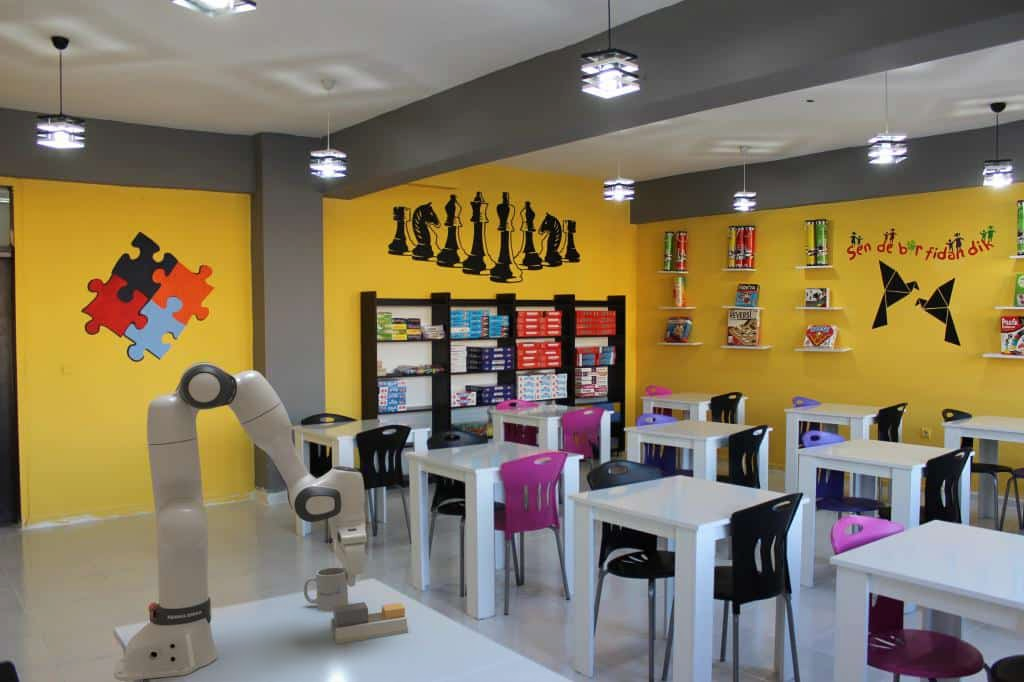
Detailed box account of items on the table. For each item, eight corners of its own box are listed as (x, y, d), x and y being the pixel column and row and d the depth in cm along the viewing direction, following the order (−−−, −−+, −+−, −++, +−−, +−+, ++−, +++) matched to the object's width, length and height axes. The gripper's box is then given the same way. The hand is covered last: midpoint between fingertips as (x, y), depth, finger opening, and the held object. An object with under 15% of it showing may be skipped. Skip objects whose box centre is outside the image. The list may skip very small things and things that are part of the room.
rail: (336, 643, 202) (336, 621, 202) (330, 630, 211) (330, 609, 211) (407, 632, 208) (407, 611, 208) (398, 620, 218) (398, 599, 218)
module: (337, 636, 205) (336, 612, 205) (334, 629, 209) (333, 606, 209) (368, 631, 207) (367, 607, 207) (364, 624, 212) (364, 602, 212)
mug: (353, 602, 234) (352, 567, 234) (340, 612, 226) (338, 576, 226) (314, 600, 237) (313, 566, 237) (299, 610, 229) (298, 574, 229)
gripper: (329, 522, 217) (331, 574, 217) (342, 539, 198) (344, 596, 198) (353, 520, 219) (355, 571, 219) (368, 536, 200) (370, 592, 200)
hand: (350, 583), depth 208 cm, fingers open, 3 cm apart
